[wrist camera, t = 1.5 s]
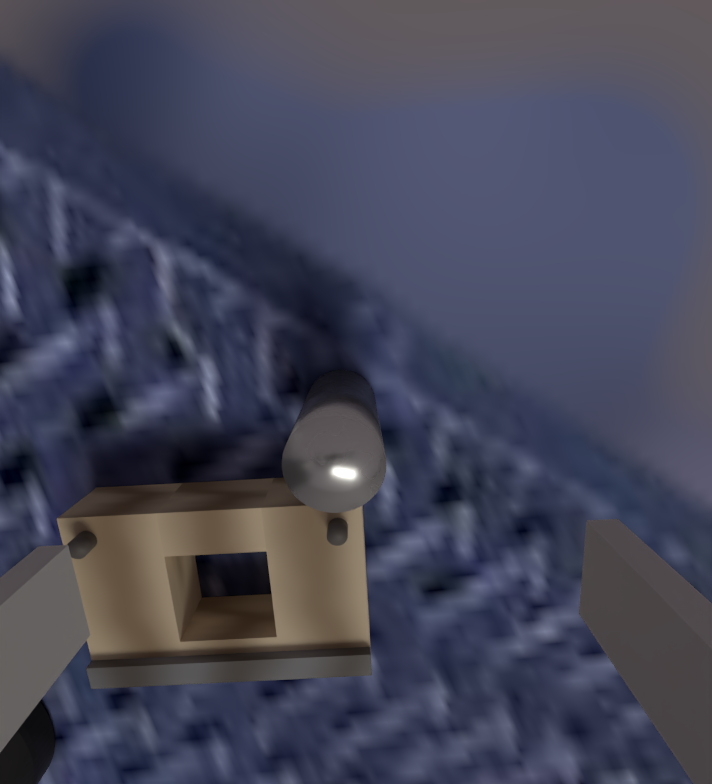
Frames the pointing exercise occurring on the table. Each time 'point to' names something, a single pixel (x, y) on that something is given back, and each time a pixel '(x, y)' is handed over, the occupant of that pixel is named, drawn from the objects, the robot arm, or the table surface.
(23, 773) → the robot arm
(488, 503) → the table surface
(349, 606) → the plate
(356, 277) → the table surface
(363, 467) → the grey metal peg
